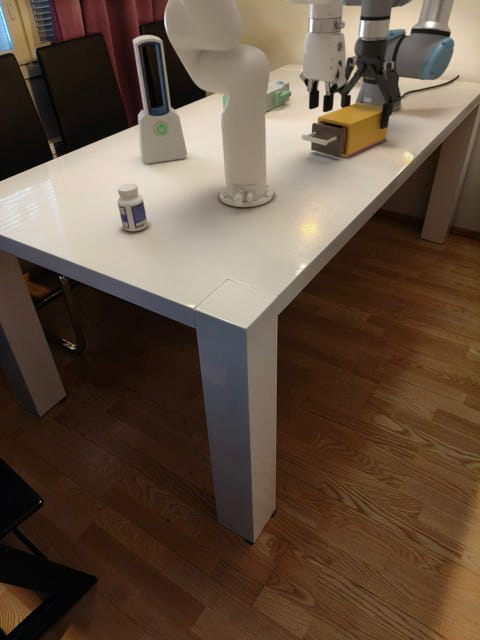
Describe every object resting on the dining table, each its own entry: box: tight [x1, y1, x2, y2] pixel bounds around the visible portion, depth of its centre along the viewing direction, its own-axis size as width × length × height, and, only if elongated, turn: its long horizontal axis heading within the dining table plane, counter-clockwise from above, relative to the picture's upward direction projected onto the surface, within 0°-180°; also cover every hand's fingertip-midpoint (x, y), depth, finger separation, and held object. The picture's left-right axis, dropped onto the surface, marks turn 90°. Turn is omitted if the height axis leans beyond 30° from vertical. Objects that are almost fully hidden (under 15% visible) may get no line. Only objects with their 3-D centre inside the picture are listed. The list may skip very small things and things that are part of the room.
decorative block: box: [221, 80, 292, 113], centre depth 175 cm, size 26×6×20 cm
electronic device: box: [132, 34, 188, 165], centre depth 130 cm, size 12×8×30 cm, turn 105°
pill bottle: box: [117, 182, 148, 232], centre depth 102 cm, size 5×5×9 cm
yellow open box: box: [317, 102, 389, 159], centre depth 137 cm, size 18×11×9 cm, turn 134°
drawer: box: [301, 122, 348, 158], centre depth 134 cm, size 22×10×7 cm, turn 134°
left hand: (320, 108), depth 124 cm, fingers open, 3 cm apart
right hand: (363, 123), depth 139 cm, fingers open, 12 cm apart
